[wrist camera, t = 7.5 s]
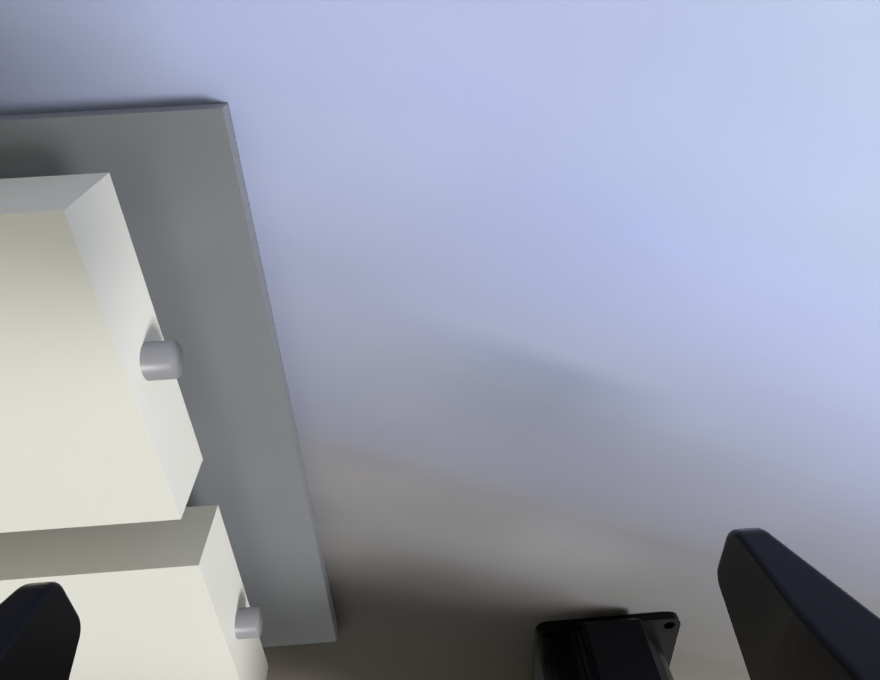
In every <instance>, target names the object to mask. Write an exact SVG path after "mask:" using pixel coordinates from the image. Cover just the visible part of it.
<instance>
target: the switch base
mask: <svg viewBox="0 0 880 680" xmlns="http://www.w3.org/2000/svg"><path fill="white" fill-rule="evenodd" d="M93 173H110V176H111V179H112V182H113V185H114V189H115V192H116V195H117V198H118V201H119V204H120V207H121V210H122V213H123V216H124V219H125V222H126V225H127V228H128V231H129V234H130V237H131V241H132V244H133V247H134V250H135V253H136V256H137V259H138V262H139V265H140V268H141V271H142V274H143V277H144V280H145V283H146V286H147V289H148V293H149V296H150V299H151V302H152V305H153V308H154V311H155V314H156V317H157V320H158V323H159V326H160V329H161V332H162V335H163V338H164V340H177V341H178V342H179V344H180V346H181V348H182V352H183V362H184V363H183V371H182V374H181V376H180V378H178V379H177V381H178V384H179V387H180V390H181V393H182V397H183V400H184V403H185V406H186V409H187V412H188V415H189V418H190V421H191V424H192V427H193V430H194V433H195V436H196V439H197V442H198V445H199V449H200V452H201V455H202V458H203V460H202V463H201V466H200V469H199V471H198V474H197V477H196V480H195V482H194V485H193V488H192V491H191V493H190V496H189V499H188V502H187V504H186V507H196V506H210V505H218V506H219V509H220V513H221V516H222V519H223V522H224V525H225V529H226V532H227V535H228V538H229V541H230V545H231V548H232V551H233V554H234V558H235V561H236V564H237V567H238V570H239V574H240V577H241V580H242V583H243V586H244V590H245V593H246V596H247V599H248V602H249V606H250V607H257V606H260V607H261V609H262V613H263V626H262V632H261V635H260V637H259V638H260V641H261V644H262V647H263V648H264V647H276V646H289V645H301V644H314V643H326V642H337V635H338V625H337V620H336V616H335V611H334V606H333V601H332V596H331V592H330V587H329V582H328V577H327V573H326V568H325V563H324V558H323V553H322V549H321V544H320V539H319V534H318V530H317V525H316V520H315V515H314V510H313V506H312V501H311V496H310V491H309V487H308V482H307V477H306V472H305V467H304V463H303V458H302V453H301V448H300V444H299V439H298V434H297V429H296V424H295V420H294V415H293V410H292V405H291V401H290V396H289V391H288V386H287V381H286V377H285V372H284V367H283V362H282V358H281V353H280V348H279V343H278V338H277V334H276V329H275V324H274V319H273V315H272V310H271V305H270V300H269V295H268V291H267V286H266V281H265V276H264V271H263V267H262V262H261V257H260V252H259V248H258V243H257V238H256V233H255V228H254V224H253V219H252V214H251V209H250V205H249V200H248V195H247V190H246V185H245V181H244V176H243V171H242V166H241V162H240V157H239V152H238V147H237V142H236V138H235V133H234V128H233V123H232V119H231V114H230V109H229V104H228V103H216V104H198V105H180V106H162V107H143V108H125V109H107V110H89V111H71V112H53V113H35V114H17V115H0V179H7V178H24V177H41V176H58V175H76V174H93Z"/></svg>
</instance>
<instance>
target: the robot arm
mask: <svg viewBox="0 0 880 680" xmlns="http://www.w3.org/2000/svg"><path fill="white" fill-rule="evenodd" d="M717 574H718V582H719V586H720V589H721V592H722V595H723V598H724V601H725V604H726V607H727V610H728V613H729V616H730V619H731V622H732V625H733V628H734V631H735V634H736V637H737V640H738V643H739V646H740V649H741V652H742V655H743V658H744V661H745V664H746V667H747V670H748V673H749V676H750V679H751V680H880V618H879V617H878V616H876V615H875V614H874V613H872V612H871V611H870V610H869V609H867V608H866V607H865V606H863V605H862V604H861V603H859V602H858V601H857V600H855V599H854V598H853V597H852V596H850V595H849V594H848V593H846V592H845V591H844V590H842V589H841V588H840V587H839V586H837V585H836V584H835V583H833V582H832V581H831V580H829V579H828V578H827V577H826V576H824V575H823V574H822V573H820V572H819V571H818V570H816V569H815V568H814V567H813V566H811V565H810V564H809V563H807V562H806V561H805V560H803V559H802V558H801V557H799V556H798V555H797V554H796V553H794V552H793V551H792V550H790V549H789V548H788V547H786V546H785V545H784V544H783V543H781V542H780V541H779V540H777V539H776V538H775V537H773V536H772V535H771V534H770V533H768V532H767V531H765V530H763V529H760V528H745V529H734V530H732V531H731V532H730V533H729V534H728V536H727V538H726V542H725V545H724V548H723V552H722V555H721V558H720V562H719V565H718V573H717ZM679 628H680V621H679V618H678V616H677V614H676V613H674V612H660V613H647V614H635V615H622V616H610V617H597V618H585V619H572V620H560V621H548V622H543V623H540V624H539V625H538V626H537V627H536V630H535V645H534V660H533V676H532V680H674V679H673V677H672V674H671V671H670V669H669V665H670V661H671V658H672V654H673V650H674V646H675V643H676V639H677V635H678V631H679ZM80 632H81V623H80V619H79V616H78V614H77V612H76V610H75V609H74V607H73V605H72V603H71V602H70V600H69V598H68V596H67V594H66V593H65V591H64V589H63V587H62V586H61V585H60V584H59V583H57V582H52V581H51V582H38V583H29V584H25V585H23V586H21V587H19V588H18V589H17V590H15V591H14V592H13V593H12V594H11V595H10V596H8V597H7V598H6V599H5V600H4V601H3V602H2V603H0V680H69V677H70V673H71V669H72V666H73V662H74V658H75V654H76V650H77V646H78V642H79V638H80Z"/></svg>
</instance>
